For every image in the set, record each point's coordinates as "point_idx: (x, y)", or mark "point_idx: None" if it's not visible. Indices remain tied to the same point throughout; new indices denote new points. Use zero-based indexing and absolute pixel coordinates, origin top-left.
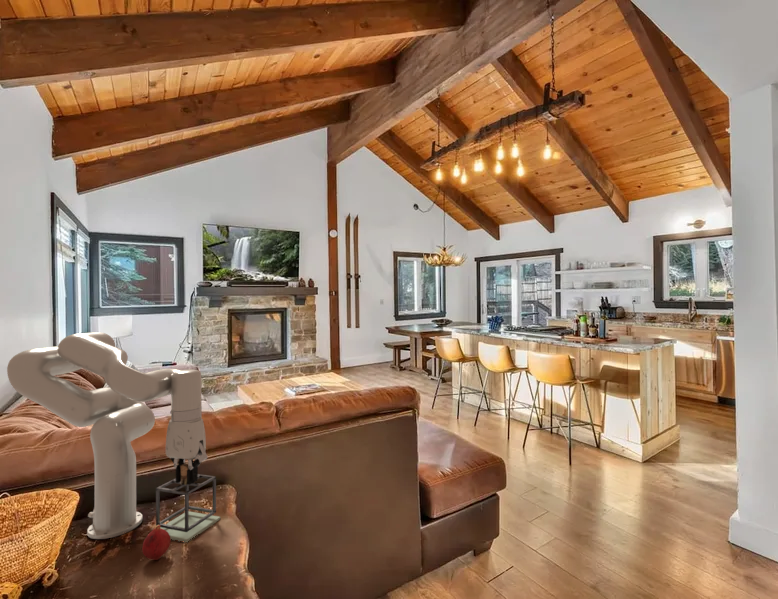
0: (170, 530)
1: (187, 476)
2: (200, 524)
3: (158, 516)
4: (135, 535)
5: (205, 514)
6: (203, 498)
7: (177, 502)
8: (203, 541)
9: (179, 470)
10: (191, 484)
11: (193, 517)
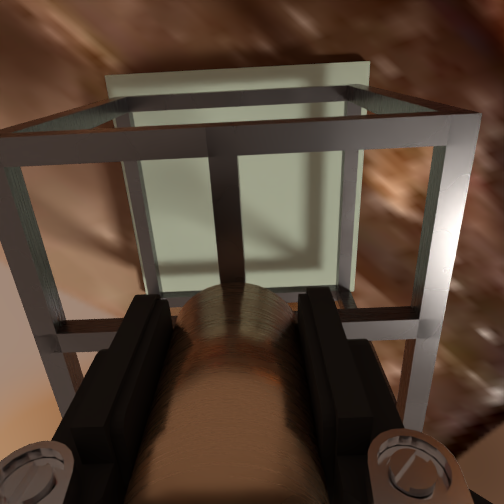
0: None
1: (126, 349)
2: (177, 219)
3: (360, 95)
4: (462, 29)
5: None
6: None
7: (480, 340)
8: None
9: (319, 410)
10: None
11: (270, 257)
